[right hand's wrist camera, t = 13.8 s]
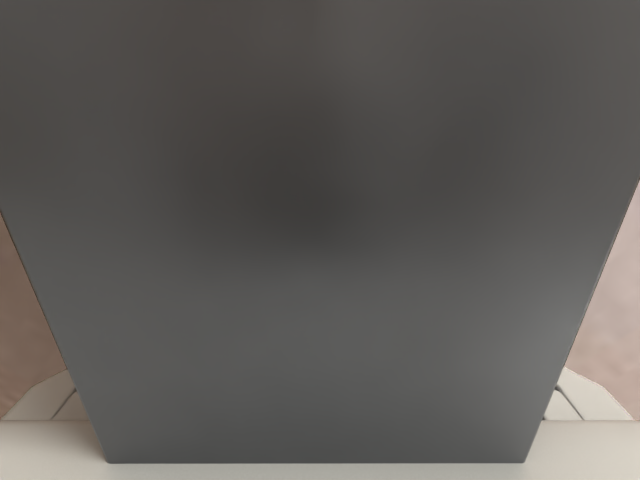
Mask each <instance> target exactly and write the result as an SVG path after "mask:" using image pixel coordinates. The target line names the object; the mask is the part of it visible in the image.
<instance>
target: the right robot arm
mask: <svg viewBox="0 0 640 480" xmlns="http://www.w3.org/2000/svg"><path fill="white" fill-rule="evenodd" d="M0 480H640V420H634V419H633V418H632V417H631V416H630V415H629V413H628V412H627V411H626V410H625V409H624V408H623V407H622V406H621V405H620V404H619V403H618V402H617V401H616V400H615V399H614V398H613V396H612V395H611V394H610V393H609V392H608V391H607V390H606V389H605V388H604V387H603V386H601V385H599V384H597V383H595V382H593V381H591V380H589V379H587V378H585V377H583V376H581V375H579V374H577V373H575V372H573V371H571V370H569V369H567V368H565V367H563V370H562V372H561V374H560V377H559V379H558V382H557V384H556V387H555V389H554V392H553V394H552V397H551V399H550V402H549V404H548V406H547V409H546V411H545V414H544V416H543V419H542V421H541V424H540V426H539V429H538V431H537V434H536V436H535V438H534V441H533V443H532V446H531V448H530V451H529V453H528V456H527V458H526V461H525V462H524V463H383V464H109V463H107V461H106V458H105V456H104V454H103V451H102V449H101V447H100V444H99V442H98V440H97V437H96V435H95V433H94V430H93V428H92V426H91V423H90V421H89V419H88V416H87V414H86V412H85V409H84V407H83V405H82V402H81V400H80V398H79V395H78V393H77V391H76V388H75V386H74V384H73V381H72V379H71V377H70V374H69V372H68V370H67V369H66V370H64V371H62V372H60V373H58V374H56V375H54V376H52V377H50V378H48V379H46V380H44V381H42V382H40V383H38V384H36V385H34V386H32V387H31V388H30V389H29V390H28V391H27V392H26V393H25V394H24V395H23V396H22V398H21V399H20V400H19V401H18V402H17V403H16V404H15V405H14V406H13V407H12V408H11V409H10V410H9V411H8V412H7V413H6V414H5V415H4V416H3V417H2V418H1V419H0Z"/></svg>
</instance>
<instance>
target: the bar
mask: <svg viewBox="0 0 640 480" xmlns="http://www.w3.org/2000/svg"><path fill="white" fill-rule="evenodd" d="M639 180H640V0H0V213H1V215H2V217H3V220H4V222H5V224H6V227H7V229H8V231H9V234H10V236H11V238H12V241H13V243H14V245H15V248H16V250H17V253H18V255H19V257H20V260H21V262H22V264H23V267H24V269H25V271H26V274H27V276H28V278H29V281H30V283H31V285H32V288H33V290H34V292H35V295H36V297H37V299H38V302H39V304H40V306H41V309H42V311H43V313H44V316H45V318H46V320H47V323H48V325H49V327H50V330H51V332H52V334H53V337H54V339H55V341H56V344H57V346H58V348H59V351H60V353H61V355H62V358H63V360H64V362H65V365H66V367H67V370H68V372H69V374H70V377H71V379H72V381H73V384H74V386H75V388H76V391H77V393H78V395H79V398H80V400H81V402H82V405H83V407H84V409H85V412H86V414H87V416H88V419H89V421H90V423H91V426H92V428H93V430H94V433H95V435H96V437H97V440H98V442H99V444H100V447H101V449H102V451H103V454H104V456H105V458H106V461H107V463H109V464H383V463H524V462H525V461H526V458H527V456H528V453H529V451H530V448H531V446H532V443H533V441H534V438H535V436H536V434H537V431H538V429H539V426H540V424H541V421H542V419H543V416H544V414H545V411H546V409H547V406H548V404H549V402H550V399H551V397H552V394H553V392H554V389H555V387H556V384H557V382H558V379H559V377H560V374H561V372H562V370H563V367H564V365H565V362H566V360H567V357H568V355H569V352H570V350H571V347H572V345H573V342H574V340H575V337H576V335H577V333H578V330H579V328H580V325H581V323H582V320H583V318H584V315H585V313H586V310H587V308H588V305H589V303H590V301H591V298H592V296H593V293H594V291H595V288H596V286H597V283H598V281H599V278H600V276H601V273H602V271H603V269H604V266H605V264H606V261H607V259H608V256H609V254H610V251H611V249H612V246H613V244H614V241H615V239H616V236H617V234H618V232H619V229H620V227H621V224H622V222H623V219H624V217H625V214H626V212H627V209H628V207H629V204H630V202H631V200H632V197H633V195H634V192H635V190H636V187H637V185H638V182H639Z"/></svg>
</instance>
